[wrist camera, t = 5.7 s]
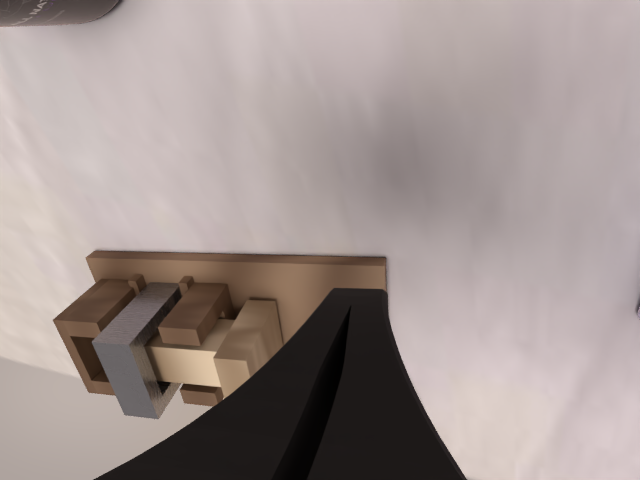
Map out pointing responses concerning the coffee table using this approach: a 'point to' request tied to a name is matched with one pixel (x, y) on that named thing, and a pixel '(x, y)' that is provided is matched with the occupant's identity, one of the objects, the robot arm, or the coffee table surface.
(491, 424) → the coffee table surface
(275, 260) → the jig
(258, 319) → the shaft
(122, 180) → the coffee table surface
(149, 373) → the collar
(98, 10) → the supplement bottle
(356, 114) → the coffee table surface
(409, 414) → the robot arm
